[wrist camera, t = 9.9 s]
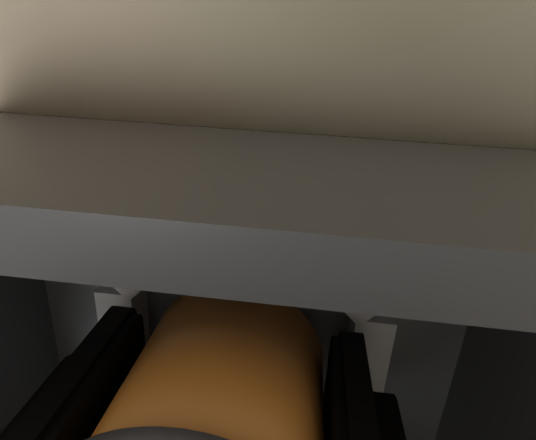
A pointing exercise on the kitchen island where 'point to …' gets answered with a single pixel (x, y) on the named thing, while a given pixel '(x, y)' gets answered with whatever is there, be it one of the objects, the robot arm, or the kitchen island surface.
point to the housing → (280, 253)
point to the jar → (222, 376)
